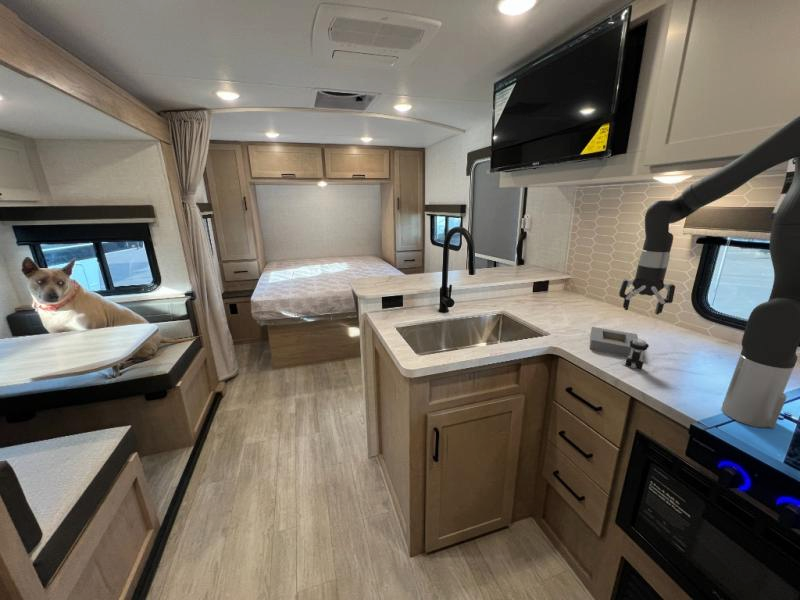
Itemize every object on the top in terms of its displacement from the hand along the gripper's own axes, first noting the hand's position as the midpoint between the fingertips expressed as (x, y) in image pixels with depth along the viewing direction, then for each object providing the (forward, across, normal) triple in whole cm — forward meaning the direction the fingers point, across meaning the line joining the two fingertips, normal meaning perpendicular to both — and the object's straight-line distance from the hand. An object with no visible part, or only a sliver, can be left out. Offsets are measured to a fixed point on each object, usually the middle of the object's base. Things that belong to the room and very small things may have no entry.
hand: (641, 311), depth 108 cm
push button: (+20, +1, -1) cm, 20 cm away
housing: (+20, -4, +15) cm, 26 cm away
